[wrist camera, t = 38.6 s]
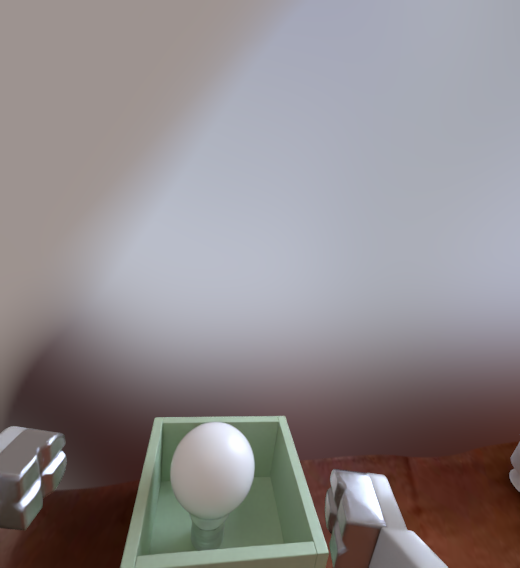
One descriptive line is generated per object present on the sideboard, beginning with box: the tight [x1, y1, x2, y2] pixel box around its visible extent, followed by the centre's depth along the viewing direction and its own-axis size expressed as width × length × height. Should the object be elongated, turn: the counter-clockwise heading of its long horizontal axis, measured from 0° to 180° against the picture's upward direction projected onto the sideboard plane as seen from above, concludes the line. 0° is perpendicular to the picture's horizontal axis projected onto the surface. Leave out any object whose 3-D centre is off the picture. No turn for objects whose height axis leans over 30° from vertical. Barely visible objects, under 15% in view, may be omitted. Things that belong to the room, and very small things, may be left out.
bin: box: [120, 416, 329, 568], centre depth 26 cm, size 13×13×8 cm
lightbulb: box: [170, 422, 255, 551], centre depth 25 cm, size 6×6×11 cm
